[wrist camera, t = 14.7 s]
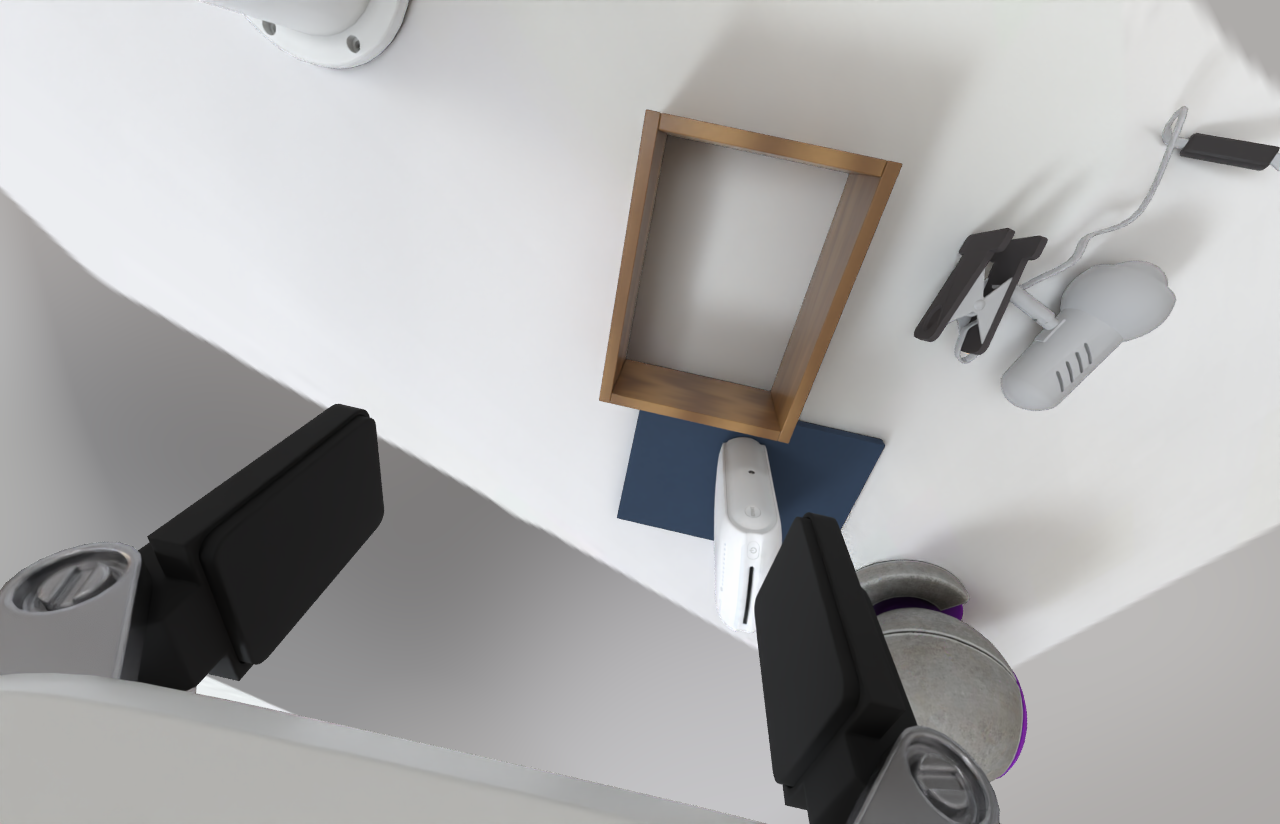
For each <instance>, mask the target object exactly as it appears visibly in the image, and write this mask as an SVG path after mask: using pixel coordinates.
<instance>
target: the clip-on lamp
mask: <svg viewBox="0 0 1280 824" xmlns="http://www.w3.org/2000/svg"><path fill="white" fill-rule="evenodd" d="M1187 112H1188V108H1187V107H1186V106H1183V107H1181V108H1180V109H1179V110H1177V111H1176V112H1175V113H1174V114H1173V116H1172V117H1171V118H1170V120H1169V121H1168V122H1167V124H1166V126H1165V128H1164V130H1163V133H1162V138H1163V142H1164V143H1166V144H1168V146H1167V149H1166V152H1165V154H1164V157H1163V160H1162V162H1161V165H1160V167H1159V170H1158V172H1157V175H1156V177H1155V180H1154V182H1153V184H1152V186H1151V188H1150V190H1149V192H1148V194H1147V196H1146V198H1145V199H1144V201H1143V202H1142V204H1141V205H1140V207H1139V208H1138V210H1137V211H1136V212H1135V213H1134V214H1133V215H1131V216H1130V217H1129V218H1128V219H1126V220H1125V221H1123V222H1121V223H1120V224H1117V225H1115V226H1112V227H1109V228H1106V229H1102V230H1099V231H1095V232H1092V233H1090V234H1087V235H1086V236H1084V237H1082V238H1081V239H1080V240H1079V242H1078V244H1077V247H1076V250H1075V252H1074V254H1073V256H1072V257H1071V258H1070V259H1069V260H1068V261H1067V262H1065V263H1063V264H1062V265H1060V266H1058V267H1056V268H1054V269H1052V270H1050V271H1048V272H1045V273H1043V274H1041V275H1039V276H1037V277H1035V278H1033V279H1031V280H1029V281H1027V282H1025V283H1024V284H1022V285H1020V286H1018V285H1017V283H1018V281H1019V279H1020V277H1021V275H1022V272H1023V270H1024V268H1025V266H1026V264H1027V262H1028V260H1035V259H1037V258H1038V257H1039V256H1040V255H1041V253H1042V251H1043V249H1044V247H1045V245H1046V243H1047V241H1048V239H1047V238H1045V237H1042V236H1034V237H1027V238H1021V239H1014V240H1011V239H1012V238H1013V236H1014V234H1015V231H1014V230H1011V229H1009V228H1005V229H1000V230H994V231H989V232H983V233H978V234H973V235H970V236H969V237H967V239H966V240H965V242H964V244H963V245H962V247H961V249H960V251H959V254H962V255H963V256H962V258H961V259H960V261H959V263H958V264H957V266H956V267H955V269H954V270H953V272H952V273H951V275H950V276H949V278H948V280H947V281H946V283H945V284H944V286H943V287H942V289H941V290H940V292H939V293H938V295H937V296H936V298H935V300H934V301H933V303H932V304H931V306H930V307H929V309H928V310H927V312H926V313H925V315H924V317H923V318H922V320H921V321H920V323H919V324H918V326H917V327H916V329H915V332H914V336H915V337H916V338H918V339H920V340H924V341H929V342H932V341H934V340H936V339H937V338H938V337H939V336H940V334H941V333H942V331H943V330H944V328H945V327H946V325H947V324H948V323H950V322H952V321H954V320H956V319H957V323H958V329H959V334H960V335H959V337H958V339H957V342H956V345H955V356H956V357H957V359H958V360H959V361H960V362H961V363H964V364H967V363H969V362H971V361H972V360H974V359H975V358H976V357H977V356H978V355H981V354H983V353H984V352H985V351H986V350H987V348H988V347H989V345H990V342H991V340H992V338H993V336H994V334H995V331H996V329H997V327H998V325H999V323H1000V321H1001V318H1002V316H1003V314H1004V312H1005V310H1006V307H1007V305H1008V303H1009V301H1010V302H1011V303H1013V304H1014V305H1015V306H1017V307H1018V308H1019V309H1021V310H1022V311H1023V312H1024V313H1026V314H1027V315H1028V316H1030V317H1031V318H1032V319H1033V320H1034V321H1036V322H1037V323H1038V324H1040V325H1041V326H1042V327H1043V328H1044V329H1043V330H1042V331H1041V332H1040V333H1039V334H1038V335H1037V337H1036V338H1035V339H1034V340H1035V341H1034V342H1033V343H1032V344H1031V345H1030V346H1029V347H1028V348H1027V349H1026V350H1025V351H1024V352H1023V354H1022V355H1021V356H1020V357H1019V358H1018V359H1017V360H1016V361H1015V362H1014V363H1013V364H1012V366H1011V367H1010V368H1009V369H1008V370H1007V371H1006V372H1005V373H1004V374H1003V376H1002V378H1001V388H1002V392H1003V394H1004V396H1005V397H1006V398H1007V400H1008V401H1009V402H1011V403H1012V404H1013V405H1015V406H1017V407H1019V408H1022V409H1025V410H1030V411H1042V410H1048V409H1051V408H1054V407H1056V406H1057V405H1058V404H1059V403H1060V402H1061V401H1062V400H1063V399H1065V398H1066V397H1067V396H1068V395H1069V394H1070V393H1071V392H1072V391H1073V390H1074V389H1075V388H1076V387H1077V386H1078V385H1079V384H1080V383H1081V382H1082V381H1083V380H1084V379H1085V378H1086V377H1087V376H1088V375H1089V374H1090V373H1091V372H1092V371H1093V370H1094V369H1095V368H1096V367H1097V366H1098V365H1099V364H1100V363H1101V362H1102V361H1104V360H1105V359H1106V358H1107V357H1108V356H1109V355H1110V354H1111V353H1112V352H1113V351H1114V350H1115V349H1116V348H1117V347H1118V346H1119V345H1120V344H1121V343H1122V342H1125V341H1129V340H1132V339H1135V338H1138V337H1141V336H1143V335H1145V334H1147V333H1150V332H1151V331H1153V330H1154V329H1156V328H1157V327H1158V326H1160V325H1161V324H1162V323H1163V322H1164V321H1165V320H1166V319H1167V317H1168V316H1169V314H1170V313H1171V311H1172V309H1173V307H1174V305H1175V302H1176V297H1175V295H1174V293H1173V292H1172V291H1171V290H1170V289H1169V288H1168V281H1167V277H1166V275H1165V273H1164V272H1163V271H1162V270H1161V269H1160V268H1159V267H1157V266H1156V265H1153V264H1151V263H1148V262H1143V261H1128V262H1123V263H1119V264H1116V265H1110V264H1101V265H1096V266H1093V267H1091V268H1089V269H1087V270H1086V271H1084V272H1083V273H1081V274H1080V275H1079V276H1077V277H1076V278H1075V279H1074V280H1073V281H1072V282H1071V283H1070V284H1069V285H1068V287H1067V288H1066V290H1065V291H1064V293H1063V296H1062V299H1061V306H1060V311H1061V312H1060V313H1059V314H1058V316H1057V317H1056V318H1055V317H1054V316H1055V314H1054V313H1053V312H1052V311H1051V310H1050V309H1048V308H1047V307H1046V306H1044V305H1043V304H1042V303H1040V302H1039V301H1038V300H1037V299H1035V298H1034V297H1033V296H1031V295H1030V294H1029V293H1027V292H1026V291H1025V289H1027V288H1029V287H1030V286H1032V285H1034V284H1036V283H1038V282H1040V281H1042V280H1045V279H1047V278H1049V277H1051V276H1053V275H1055V274H1057V273H1059V272H1062V271H1064V270H1065V269H1067V268H1069V267H1070V266H1072V265H1074V264H1075V263H1076V262H1077V261H1078V260H1079V259H1080V258H1081V256H1082V255H1083V253H1084V251H1085V248H1086V246H1087V243H1088V241H1089V240H1090V239H1091V238H1092V237H1094V236H1096V235H1099V234H1102V233H1106V232H1110V231H1114V230H1117V229H1119V228H1122V227H1125V226H1126V225H1128V224H1130V223H1131V222H1133V221H1134V220H1135V219H1136V218H1137V217H1138V216H1139V215H1141V214H1142V213H1143V211H1144V210H1145V208H1146V207H1147V205H1148V204H1149V202H1150V201H1151V199H1152V197H1153V195H1154V193H1155V191H1156V189H1157V187H1158V185H1159V183H1160V181H1161V178H1162V176H1163V174H1164V171H1165V169H1166V166H1167V164H1168V162H1169V159H1170V157H1171V154H1172V152H1173V149H1174V148H1179V149H1182V150H1181V152H1180V156H1183V157H1188V158H1194V159H1199V160H1204V161H1210V162H1215V163H1220V164H1226V165H1231V166H1237V167H1242V168H1247V169H1253V170H1258V171H1260V170H1263V169H1265V168H1266V167H1268V166H1269V165H1271V166H1273V167H1274V168H1275V169H1276V170H1277V171H1280V153H1278V151H1279V147H1276V146H1270V145H1265V144H1259V143H1253V142H1247V141H1241V140H1235V139H1229V138H1223V137H1217V136H1211V135H1205V134H1199V133H1196V134H1193V135H1192V136H1191V137H1190V138H1189V139H1185V138H1180V137H1179V134H1180V132H1181V129H1182V127H1183V124H1184V121H1185V119H1186V116H1187ZM1178 116H1179V117H1178ZM1177 117H1178V121H1177V123H1176V126H1175V129H1174V131H1173V133H1172V131H1171V125H1172V123H1173V121H1174V120H1175V119H1176V118H1177ZM989 261H991V262H994V264H993V266H992V268H991V271H990V273H989V275H988V277H987V279H986V280H985V281H984V275H985V267H986V265H987V264H988V262H989ZM960 351H963V352H966V353H970V354H969V355H968V356H966V357H964V358H961V356H960Z"/></svg>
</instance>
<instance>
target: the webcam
mask: <svg viewBox="0 0 1280 824" xmlns="http://www.w3.org/2000/svg"><path fill="white" fill-rule="evenodd" d="M856 574H857V577H858V580H859V582H860V585H861V587H862V588H863V589H864V590H865V591H866V592H867V594H868V596H869V598H870V600H871V603H872V605H873V608H874V611H875V613H876V616H877V618H878V621H879V624H880V626H881V629H882V632H883V634H884V637H885V640H886V642H887V645H888V648H889V650H890V653H891V656H892V658H893V661H894V664H895V666H896V669H897V672H898V674H899V677H900V679H901V682H902V685H903V687H904V690H905V693H906V695H907V698H908V701H909V703H910V706H911V709H912V711H913V714H914V717H915V719H916V722H917V725H918V726H924V727H930V728H932V729H935V730H937V731H939V732H941V733H944V734H945V735H947V736H948V737H950V738H951V739H952V740H954V741H955V742H957V743H958V744H959V745H960V746H961V747H962V748H963V749H964V750H965V751H967V752H968V753H969V754H970V755H971V756H972V757H973V758H974V760H975V761H976V762H977V764H978V765H979V766H980V768H981V769H982V770H983V772H984V773H985V774H986V776H987V778H988V780H989V782H991V781H993V780H995V779H998V778H1000V777H1002V776H1003V775H1005V774H1006V773H1007V772H1008V770H1009V769H1010V768H1011V767H1012V766H1013V765H1014V763H1015V762H1016V761H1017V759H1018V757H1019V755H1020V753H1021V750H1022V748H1023V745H1024V742H1025V736H1026V731H1027V711H1026V705H1025V700H1024V696H1023V692H1022V689H1021V687H1020V684H1019V681H1018V679H1017V677H1016V675H1015V673H1014V672H1013V671H1012V669H1011V668H1010V666H1009V665H1008V663H1007V662H1006V660H1005V659H1004V657H1003V656H1002V655H1001V653H1000V652H999V651H998V650H997V649H996V648H995V647H994V646H993V644H992V643H991V642H990V641H989V640H988V639H986V638H985V637H984V636H983V635H982V634H980V633H979V632H978V631H977V630H975V629H974V628H972V627H971V626H969V625H968V624H966V623H964V622H962V621H961V619H962V615H963V607H962V604H964V603H967V602H968V601H969V595H968V593H967V591H966V589H965V588H964V586H963V585H962V584H961V582H960V581H959V580H958V579H957V578H956V577H955V576H954V575H952V574H951V573H949V572H948V571H946V570H944V569H942V568H940V567H938V566H935V565H932V564H929V563H924V562H919V561H908V560H898V561H888V562H882V563H877V564H874V565H870V566H867V567H864V568H862V569H859V570H858V571H856Z"/></svg>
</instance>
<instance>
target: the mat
mask: <svg viewBox="0 0 1280 824" xmlns="http://www.w3.org/2000/svg"><path fill="white" fill-rule="evenodd" d="M737 437H747V438H751V439H754V440H756V441H758V442H759V444H760V445H765V447H766V450H767V454H768V460H769V465H770V470H771V476H772V481H773V486H774V491H775V496H776V501H777V506H778V511H779V516H780V522H781V530H782V543H783V541H784V539H785V537H786V535H787V533H788V531H789V529H790V527H791V525H792V523H793V521H794V519H795V518H796V517H803V516H804V514H806V513H807V512H811V513H815V514H820V515H824V516H828V517H833V518H835V519H836V521H837V523H838V525H839V528H840V530H841V528H842V526H843V524H844V522H845V521H846V519H847V517H848V515H849V513H850V511H851V509H852V507H853V505H854V504H855V502H856V500H857V498H858V496H859V494H860V492H861V490H862V489H863V487H864V485H865V483H866V481H867V479H868V477H869V475H870V473H871V472H872V470H873V468H874V466H875V464H876V462H877V460H878V458H879V457H880V455H881V453H882V451H883V449H884V447H885V444H884V442H883V441H882V440H881V439H878V438H873V437H869V436H864V435H860V434H855V433H851V432H847V431H842V430H838V429H833V428H829V427H824V426H820V425H816V424H811V423H807V422H802V421H798V422H797V424H796V427H795V429H794V431H793V434H792V436H791V439H790V441H789V443H784V442H779V441H778V440H777V441H775V440H771V439H766V438H762V437H757V436H753V435H749V434H744V433H740V432H735V431H731V430H727V429H722V428H718V427H713V426H709V425H705V424H700V423H696V422H691V421H687V420H683V419H678V418H674V417H669V416H665V415H660V414H656V413H652V412H647V411H643V410H640V411H639V416H638V421H637V426H636V430H635V435H634V440H633V444H632V449H631V454H630V459H629V463H628V468H627V473H626V477H625V482H624V487H623V491H622V496H621V501H620V506H619V510H618V515H617V518H619V519H623V520H627V521H632V522H636V523H640V524H644V525H649V526H653V527H657V528H662V529H666V530H670V531H675V532H679V533H683V534H687V535H692V536H696V537H700V538H705V539H709V540H713V541H714V507H715V487H716V475H717V466H718V458H719V453H720V450H721V447H722V444H723V443H727V442H728V441H729V440H731V439H734V438H737Z"/></svg>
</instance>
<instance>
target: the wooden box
mask: <svg viewBox="0 0 1280 824" xmlns="http://www.w3.org/2000/svg"><path fill="white" fill-rule="evenodd" d="M667 134H668V135H671V136H676V137H681V138H685V139H690V140H695V141H699V142H704V143H709V144H713V145H718V146H723V147H728V148H732V149H737V150H742V151H746V152H751V153H756V154H761V155H765V156H770V157H775V158H779V159H784V160H789V161H793V162H798V163H803V164H808V165H812V166H817V167H822V168H826V169H831V170H836V171H840V172H845V173H850V174H849V176H848V179H847V182H846V185H845V188H844V190H843V193H842V196H841V199H840V201H839V204H838V207H837V210H836V212H835V215H834V218H833V221H832V223H831V226H830V229H829V232H828V234H827V237H826V240H825V243H824V246H823V248H822V251H821V254H820V257H819V259H818V262H817V265H816V268H815V270H814V273H813V276H812V279H811V281H810V284H809V287H808V290H807V292H806V295H805V298H804V301H803V304H802V306H801V309H800V312H799V315H798V317H797V320H796V323H795V326H794V328H793V331H792V334H791V337H790V339H789V342H788V345H787V348H786V350H785V353H784V356H783V359H782V362H781V364H780V367H779V370H778V373H777V375H776V378H775V381H774V384H773V386H772V389H771V392H770V391H767V390H762V389H758V388H753V387H749V386H744V385H740V384H735V383H731V382H727V381H722V380H718V379H713V378H709V377H704V376H700V375H695V374H691V373H686V372H682V371H678V370H673V369H669V368H664V367H660V366H655V365H651V364H646V363H642V362H637V361H633V360H629V359H626V355H627V350H628V344H629V339H630V334H631V328H632V323H633V317H634V312H635V307H636V301H637V296H638V290H639V285H640V279H641V274H642V269H643V263H644V258H645V252H646V247H647V241H648V236H649V231H650V225H651V220H652V214H653V209H654V203H655V198H656V193H657V187H658V182H659V176H660V171H661V165H662V160H663V155H664V149H665V144H666V138H667ZM901 167H902V163H897V162H893V161H886V160H883V159H878V158H874V157H869V156H864V155H859V154H855V153H850V152H845V151H841V150H836V149H831V148H826V147H822V146H817V145H812V144H807V143H803V142H798V141H793V140H789V139H784V138H779V137H774V136H770V135H765V134H760V133H755V132H751V131H746V130H741V129H737V128H732V127H727V126H722V125H718V124H713V123H708V122H703V121H699V120H694V119H689V118H685V117H680V116H675V115H670V114H666V113H660V112H656V111H652V110H646V112H645V118H644V124H643V131H642V137H641V143H640V149H639V155H638V162H637V168H636V174H635V180H634V186H633V193H632V199H631V205H630V211H629V217H628V224H627V230H626V236H625V242H624V248H623V254H622V261H621V267H620V273H619V279H618V285H617V292H616V298H615V304H614V310H613V316H612V323H611V329H610V335H609V341H608V347H607V354H606V360H605V366H604V372H603V378H602V385H601V391H600V397H599V401H603V402H607V403H612V404H616V405H621V406H625V407H630V408H634V409H638V410H643V411H647V412H652V413H656V414H660V415H665V416H669V417H674V418H678V419H683V420H687V421H691V422H696V423H700V424H705V425H709V426H713V427H718V428H722V429H727V430H731V431H735V432H740V433H744V434H749V435H753V436H757V437H762V438H766V439H771V440H775V441H777V440H778V441H779V442H784V443H789V441H790V439H791V436H792V434H793V431H794V429H795V427H796V424H797V422H798V419H799V417H800V414H801V412H802V409H803V407H804V404H805V402H806V400H807V397H808V395H809V392H810V390H811V387H812V385H813V382H814V380H815V378H816V375H817V373H818V370H819V368H820V365H821V363H822V360H823V358H824V355H825V353H826V351H827V348H828V346H829V343H830V341H831V338H832V336H833V333H834V331H835V329H836V326H837V324H838V321H839V319H840V316H841V314H842V311H843V309H844V306H845V304H846V302H847V299H848V297H849V294H850V292H851V289H852V287H853V284H854V282H855V280H856V277H857V275H858V272H859V270H860V267H861V265H862V262H863V260H864V257H865V255H866V253H867V250H868V248H869V245H870V243H871V240H872V238H873V235H874V233H875V231H876V228H877V226H878V223H879V221H880V218H881V216H882V213H883V211H884V209H885V206H886V204H887V201H888V199H889V196H890V194H891V191H892V189H893V186H894V184H895V182H896V179H897V177H898V174H899V172H900V169H901Z"/></svg>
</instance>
